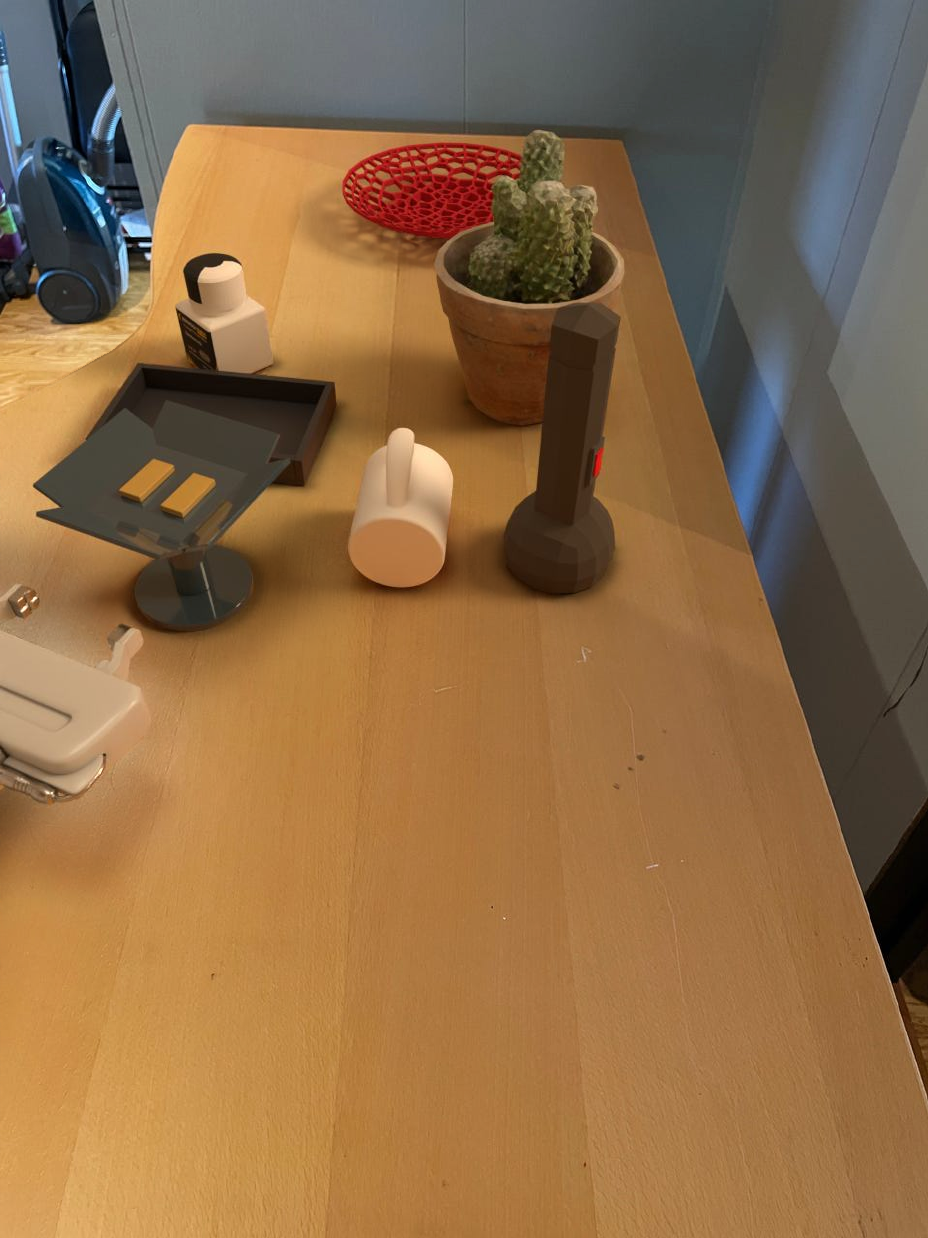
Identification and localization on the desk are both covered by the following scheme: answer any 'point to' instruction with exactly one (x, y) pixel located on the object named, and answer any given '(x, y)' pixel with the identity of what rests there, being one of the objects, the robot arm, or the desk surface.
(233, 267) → the medicine bottle
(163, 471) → the orange rectangular block
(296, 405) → the tray
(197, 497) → the key
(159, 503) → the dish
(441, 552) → the mug
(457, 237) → the potted plant
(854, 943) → the desk surface
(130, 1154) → the desk surface
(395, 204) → the bowl
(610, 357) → the flashlight
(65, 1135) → the desk surface
